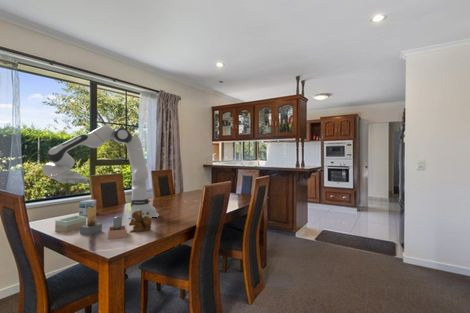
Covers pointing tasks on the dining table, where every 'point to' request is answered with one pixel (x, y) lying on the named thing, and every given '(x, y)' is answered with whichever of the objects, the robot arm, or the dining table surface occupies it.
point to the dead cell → (117, 223)
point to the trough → (70, 223)
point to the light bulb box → (86, 206)
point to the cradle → (90, 229)
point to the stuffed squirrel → (140, 222)
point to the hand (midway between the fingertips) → (81, 183)
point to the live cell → (91, 216)
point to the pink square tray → (117, 232)
